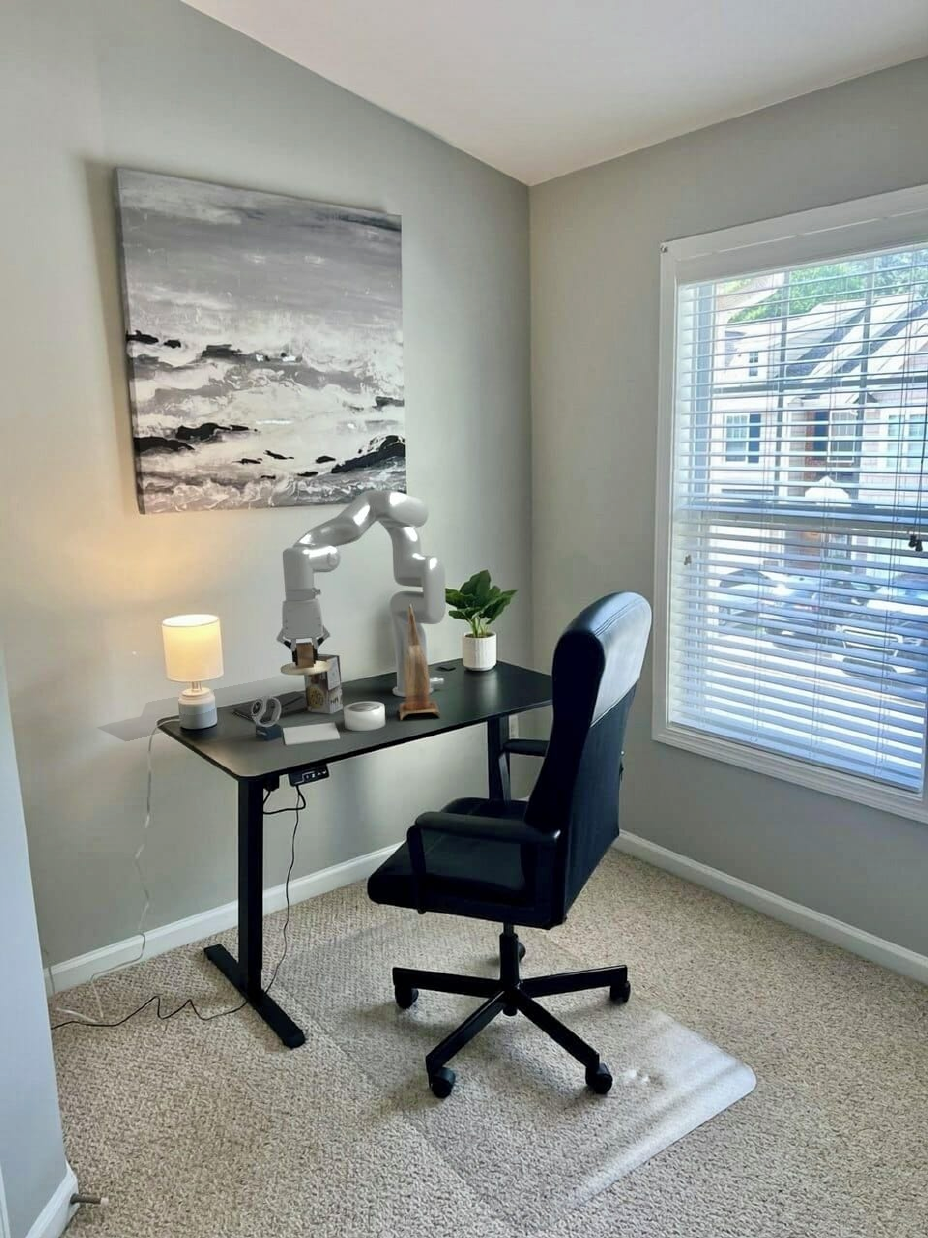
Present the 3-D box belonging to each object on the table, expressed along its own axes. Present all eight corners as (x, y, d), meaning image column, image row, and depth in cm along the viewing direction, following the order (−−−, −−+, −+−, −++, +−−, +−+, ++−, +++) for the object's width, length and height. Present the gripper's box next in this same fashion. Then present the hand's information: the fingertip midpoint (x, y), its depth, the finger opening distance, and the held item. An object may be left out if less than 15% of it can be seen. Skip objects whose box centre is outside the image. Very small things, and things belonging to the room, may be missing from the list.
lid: (328, 661, 243) (326, 637, 241) (333, 672, 230) (331, 646, 229) (279, 666, 240) (277, 641, 238) (282, 677, 227) (280, 651, 226)
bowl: (381, 717, 251) (380, 699, 250) (388, 728, 241) (387, 710, 240) (342, 721, 249) (341, 704, 248) (347, 733, 238) (346, 715, 237)
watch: (250, 738, 237) (246, 698, 235) (275, 731, 242) (272, 692, 240) (261, 743, 233) (257, 702, 231) (287, 735, 238) (284, 695, 236)
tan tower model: (436, 708, 259) (429, 599, 254) (441, 718, 247) (434, 604, 242) (398, 712, 257) (390, 602, 252) (401, 722, 246) (393, 607, 241)
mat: (334, 724, 247) (334, 722, 247) (340, 739, 233) (340, 737, 233) (283, 729, 243) (282, 728, 243) (286, 745, 230) (285, 744, 230)
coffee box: (344, 708, 261) (340, 655, 258) (330, 714, 256) (326, 659, 253) (320, 705, 266) (316, 652, 263) (305, 711, 260) (301, 657, 257)
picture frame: (295, 700, 275) (234, 715, 262) (295, 691, 275) (233, 705, 262) (323, 709, 264) (260, 725, 250) (322, 700, 263) (259, 716, 250)
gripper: (331, 590, 237) (335, 657, 240) (266, 595, 233) (272, 663, 236) (334, 594, 230) (338, 664, 233) (268, 599, 226) (273, 670, 229)
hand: (305, 663), depth 235 cm, fingers closed on lid, 4 cm apart
